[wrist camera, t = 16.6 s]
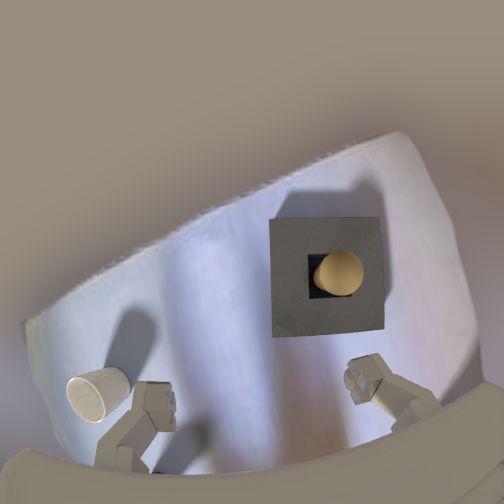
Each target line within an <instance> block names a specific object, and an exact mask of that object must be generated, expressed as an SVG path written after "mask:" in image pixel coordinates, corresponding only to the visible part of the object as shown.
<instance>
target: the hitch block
mask: <svg viewBox="0 0 504 504" xmlns="http://www.w3.org/2000/svg"><path fill="white" fill-rule="evenodd" d="M269 231H270V262H271V300H272V337H297V336H315V335H329V334H342V333H353V332H363V331H372V330H381V329H384V273H383V257H382V244H381V233H380V223H379V217H344V218H287V219H269ZM339 250H346V251H349V252H352V253H353V254H355V255H356V256H357V257H358V258H359V260H360V261H361V263H362V266H363V270H364V275H363V280H362V283H361V285H360V286H359V288H358V289H357V290H356V291H354V292H353V293H351V294H348V295H343V296H330V297H310V298H309V278H308V258H325V257H326V256H328V255H329V254H331V253H333V252H335V251H339Z"/></svg>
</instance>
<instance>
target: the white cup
mask: <svg viewBox="0 0 504 504" xmlns="http://www.w3.org/2000/svg"><path fill="white" fill-rule="evenodd" d="M129 394H130V383H129V381H128V378H127V377H126V376H125V374H124V373H123V372H122V371H120V370H119V369H117V368H115V367H106V368H104V369H100V370H96V371H92V372H89V373H86V374H83V375H80V376H77V377H73V378H72V379H70V380H69V382H68V384H67V396H68V400H69V402H70V404H71V406H72V408H73V409H74V410H75V412H76V413H77V414H78V415H79V416H80V417H81V418H83V419H84V420H86V421H88V422H91V423H98V422H100V421H102V420H103V419H104V418H105V417H106V416H108V415H109V414H110V413H111V412H113V411H114V410H115V409H116V408H117V407H118V406H119V405H120V404H121V403H122V402H123V401H124V400H126V399H127V398H128V396H129Z"/></svg>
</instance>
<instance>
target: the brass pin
mask: <svg viewBox="0 0 504 504" xmlns="http://www.w3.org/2000/svg"><path fill="white" fill-rule="evenodd" d="M363 275H364V270H363V266H362V263H361V261H360V260H359V258H358V257H357V256H356V255H355V254H353V253H352V252H349V251H346V250H339V251H335V252H333V253H331V254H329V255H328V256H326V257H325V258H324V259H323V261H322V262H321V264H319V265H317V266H315V267H314V268H313V269H312V271H311V273H310V281H311V284H312V285H313V286H314V287H315V288H316V289H318V290H326V291H328V292H329V293H331V294H334V295H348V294H351V293H353V292H354V291H356V290H357V289H358V288H359V286H360V285H361V283H362V280H363Z"/></svg>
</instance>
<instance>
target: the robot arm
mask: <svg viewBox="0 0 504 504" xmlns="http://www.w3.org/2000/svg"><path fill="white" fill-rule="evenodd" d="M348 367H349V368H348V369H347V370H346V371H345V373H344V383H345V386H346V388H347V389H348V390H350V391H351V395H350V396H351V397H352V399H353V401H354V403H355V405H358V404H362V403H365V402H369V401H370V402H371V403H373V404H374V405H375V406H377V407H378V408H380V409H381V410H383V411H384V412H385V413H387V414H388V415H390V416H391V417H393V418H394V419H396V422H395V423H394V424H393V426H392V427H391V430H392V433H390V434H388V435H385V436H383V437H380V438H378V439H375V440H373V441H370V442H367V443H364V444H362V445H359V446H356V447H353V448H350V449H347V450H344V451H341V452H337V453H334V454H330V455H327V456H323V457H320V458H316V459H312V460H308V461H303V462H299V463H294V464H289V465H284V466H279V467H273V468H267V469H261V470H253V471H245V472H236V473H224V474H206V475H168V474H150V473H149V468H148V467H147V466H146V465H145V464H144V462H143V461H142V460H141V459H140V458H141V456H142V455H143V453H144V452H145V451H146V449H147V448H148V446H149V445H150V443H151V442H152V441H153V439H154V438H155V436H156V435H157V433H158V432H176V418H175V415H174V413H175V412H176V399H175V395H174V392H173V391H172V385H171V382H155V381H136V383H135V388H134V394H133V401H132V408H131V410H128V411H127V412H126V413H125V414H124V415H123V416H122V417H121V418H120V419H119V420H118V421H117V422H116V424H115V425H114V426H113V427H112V428H111V429H110V430H109V431H108V432H107V433H106V434H105V435H104V436H103V437H102V438H101V439H100V440H99V441H98V444H97V450H96V456H95V463H94V466H91V465H86V464H82V463H77V462H73V461H69V460H65V459H61V458H58V457H55V456H51V455H48V454H44V453H42V452H39V451H36V450H33V449H24V450H22V451H21V452H19V453H18V454H16V455H15V456H14V457H12V458H11V459H10V460H9V461H7V462H6V464H5V465H4V467H3V470H2V472H1V475H0V504H504V389H503V388H501V387H499V386H497V385H494V384H492V383H489V382H482V383H481V384H479V385H478V386H476V387H475V388H473V389H472V390H470V391H469V392H467V393H466V394H464V395H463V396H461V397H459V398H458V399H456V400H454V401H453V402H451V403H449V404H448V405H446V406H444V407H442V406H441V404H440V403H439V402H438V400H437V399H436V397H435V396H434V395H433V393H432V392H431V391H430V390H428V389H426V388H424V387H421V386H419V385H417V384H415V383H413V382H411V381H409V380H407V379H405V378H403V377H401V376H399V375H397V374H393V373H392V372H391V370H390V369H389V367H388V366H387V364H386V363H385V362H384V360H383V359H382V357H381V356H380V354H378V353H374V354H371V355H366V356H362V357H358V358H355V359H351V360H350V361H349V362H348Z"/></svg>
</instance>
